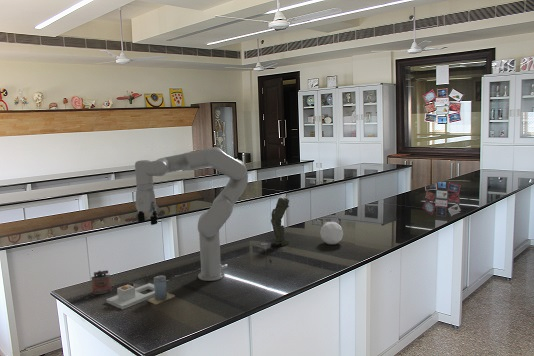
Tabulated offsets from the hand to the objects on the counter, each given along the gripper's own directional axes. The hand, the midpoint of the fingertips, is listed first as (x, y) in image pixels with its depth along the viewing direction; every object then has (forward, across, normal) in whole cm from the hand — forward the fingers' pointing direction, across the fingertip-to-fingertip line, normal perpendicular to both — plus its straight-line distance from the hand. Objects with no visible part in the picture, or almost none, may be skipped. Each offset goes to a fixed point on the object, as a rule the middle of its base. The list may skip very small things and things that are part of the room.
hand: (147, 222), depth 211 cm
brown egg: (+26, +11, -21) cm, 35 cm away
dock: (+28, +11, -16) cm, 34 cm away
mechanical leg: (+28, +16, +80) cm, 86 cm away
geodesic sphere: (+28, +40, +98) cm, 110 cm away
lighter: (+28, -7, -22) cm, 37 cm away
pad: (+28, +22, -11) cm, 37 cm away
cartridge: (+28, +21, -11) cm, 37 cm away
